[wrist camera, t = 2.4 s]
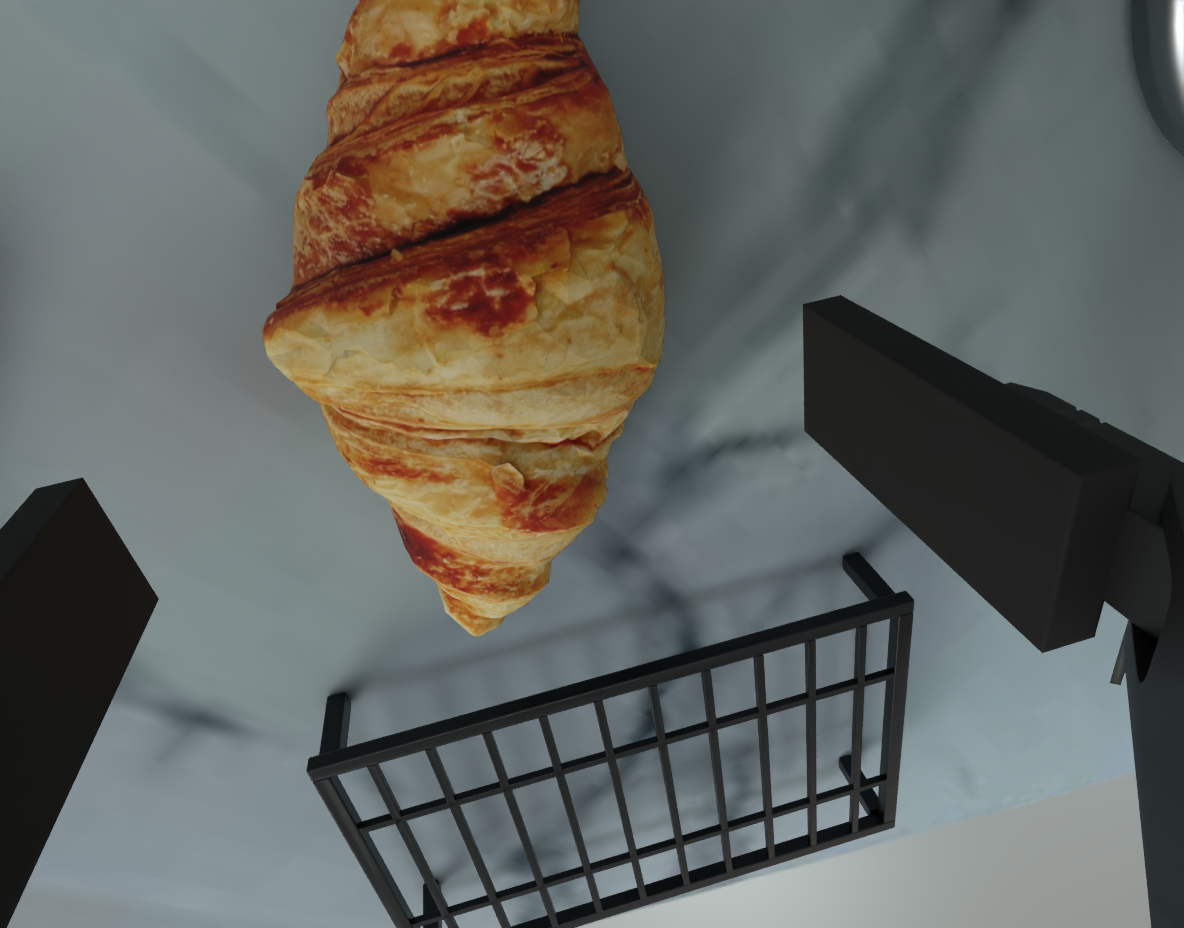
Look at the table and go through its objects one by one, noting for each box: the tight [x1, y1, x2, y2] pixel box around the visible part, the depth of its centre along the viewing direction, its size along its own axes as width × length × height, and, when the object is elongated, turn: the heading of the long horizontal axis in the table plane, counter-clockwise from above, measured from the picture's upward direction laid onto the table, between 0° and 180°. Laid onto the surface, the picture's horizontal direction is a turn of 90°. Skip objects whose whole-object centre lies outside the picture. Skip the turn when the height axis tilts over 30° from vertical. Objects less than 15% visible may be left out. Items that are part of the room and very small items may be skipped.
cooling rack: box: [307, 552, 914, 928], centre depth 30 cm, size 22×14×4 cm, turn 100°
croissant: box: [263, 0, 666, 636], centre depth 19 cm, size 21×10×8 cm, turn 178°
